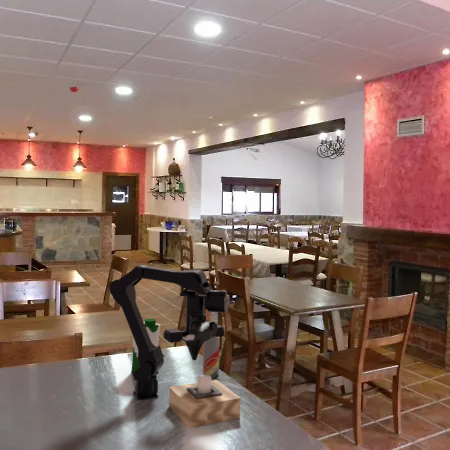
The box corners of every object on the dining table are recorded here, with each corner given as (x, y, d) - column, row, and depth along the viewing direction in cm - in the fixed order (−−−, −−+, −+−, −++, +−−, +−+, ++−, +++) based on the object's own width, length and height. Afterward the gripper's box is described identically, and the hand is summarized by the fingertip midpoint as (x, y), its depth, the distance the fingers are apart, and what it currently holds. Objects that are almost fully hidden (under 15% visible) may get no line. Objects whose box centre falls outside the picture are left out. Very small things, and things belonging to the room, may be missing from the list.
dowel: (200, 399, 143) (201, 380, 142) (195, 394, 146) (195, 375, 146) (212, 397, 144) (213, 378, 144) (207, 392, 148) (207, 374, 148)
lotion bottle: (216, 381, 171) (218, 325, 170) (200, 380, 172) (202, 324, 171) (220, 376, 176) (221, 321, 175) (204, 375, 177) (206, 320, 177)
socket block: (189, 428, 135) (189, 404, 134) (169, 406, 149) (169, 385, 149) (239, 418, 142) (240, 395, 142) (216, 398, 156) (216, 378, 156)
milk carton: (144, 379, 171) (146, 323, 171) (127, 373, 177) (128, 319, 176) (162, 372, 178) (163, 318, 178) (144, 367, 184) (145, 315, 183)
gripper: (177, 318, 141) (176, 372, 141) (233, 313, 149) (232, 363, 150) (163, 311, 150) (162, 361, 151) (217, 306, 159) (216, 353, 160)
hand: (194, 360), depth 153 cm, fingers closed
